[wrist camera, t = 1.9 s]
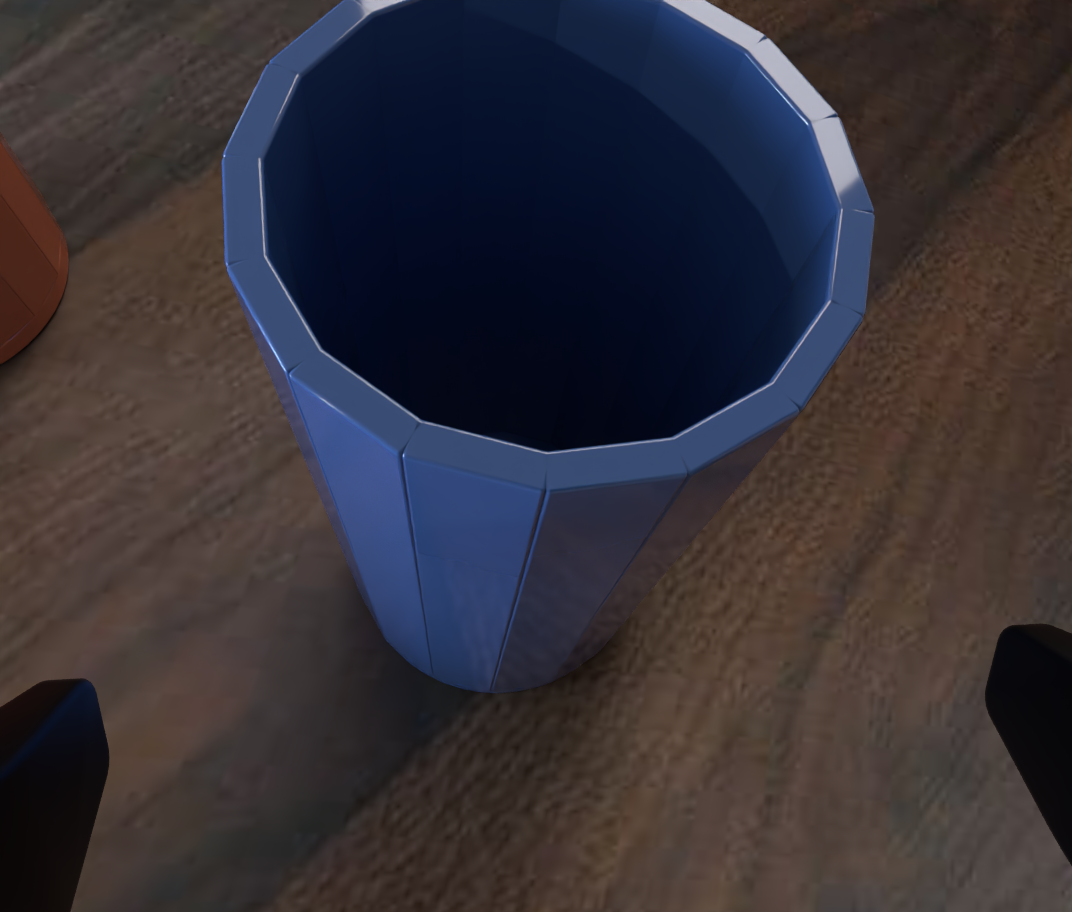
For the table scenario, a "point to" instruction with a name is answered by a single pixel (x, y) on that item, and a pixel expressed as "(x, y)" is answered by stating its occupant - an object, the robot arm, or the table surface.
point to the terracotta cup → (26, 257)
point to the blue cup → (536, 299)
